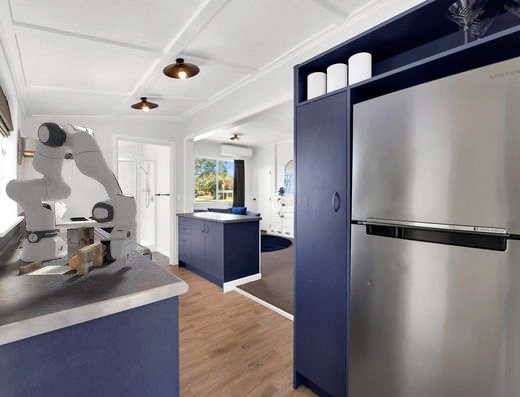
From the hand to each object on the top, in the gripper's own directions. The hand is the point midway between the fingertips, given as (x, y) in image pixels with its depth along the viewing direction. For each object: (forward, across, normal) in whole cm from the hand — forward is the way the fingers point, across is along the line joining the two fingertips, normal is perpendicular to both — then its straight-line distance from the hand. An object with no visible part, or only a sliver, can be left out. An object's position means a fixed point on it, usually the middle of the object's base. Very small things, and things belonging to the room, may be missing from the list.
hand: (125, 263), depth 118 cm
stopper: (+2, -1, -38) cm, 38 cm away
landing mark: (+2, 0, -28) cm, 28 cm away
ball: (-1, 0, -19) cm, 19 cm away
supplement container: (+2, -14, -12) cm, 19 cm away
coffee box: (+2, -14, -24) cm, 28 cm away
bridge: (+2, 0, -14) cm, 14 cm away
